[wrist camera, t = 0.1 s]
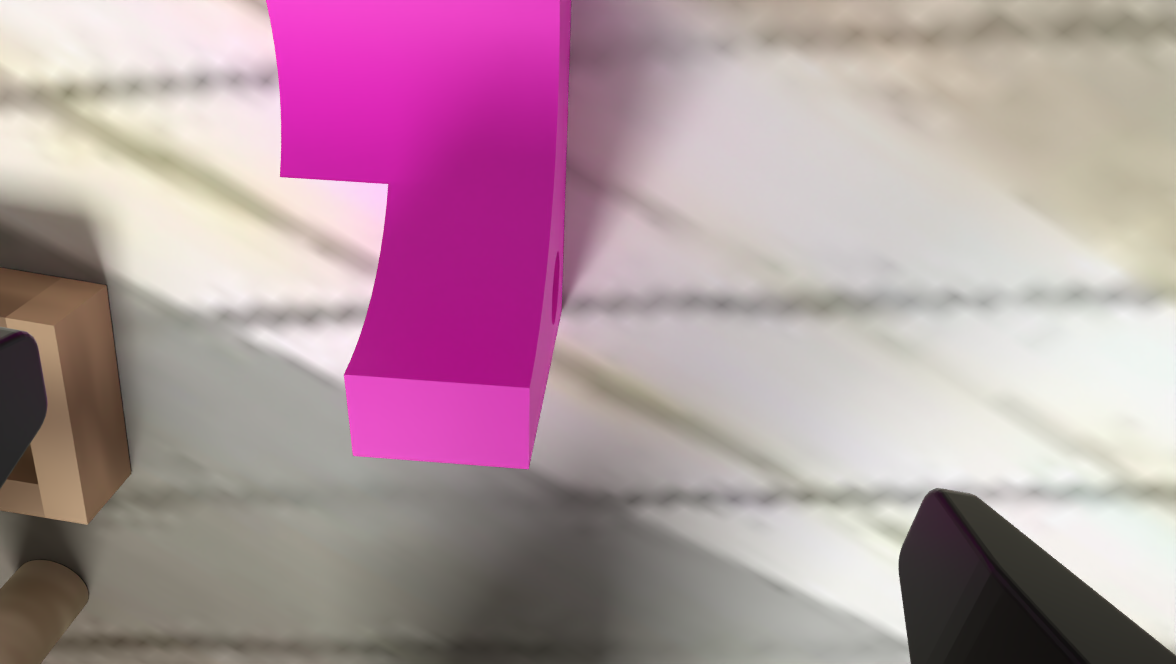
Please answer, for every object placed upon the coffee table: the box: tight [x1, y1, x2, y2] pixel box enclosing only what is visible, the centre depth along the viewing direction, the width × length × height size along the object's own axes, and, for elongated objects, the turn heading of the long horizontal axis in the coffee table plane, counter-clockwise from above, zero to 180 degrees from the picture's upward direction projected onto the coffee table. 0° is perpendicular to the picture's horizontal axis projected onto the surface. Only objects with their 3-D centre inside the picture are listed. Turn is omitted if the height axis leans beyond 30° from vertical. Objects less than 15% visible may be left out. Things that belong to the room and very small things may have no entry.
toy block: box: [266, 0, 571, 469], centre depth 18 cm, size 15×6×8 cm, turn 178°
